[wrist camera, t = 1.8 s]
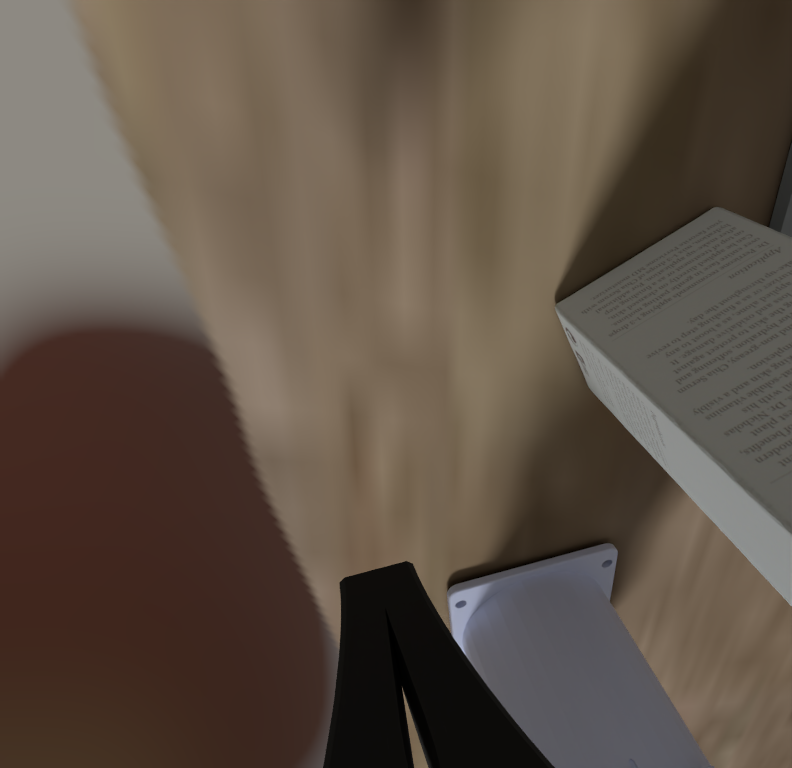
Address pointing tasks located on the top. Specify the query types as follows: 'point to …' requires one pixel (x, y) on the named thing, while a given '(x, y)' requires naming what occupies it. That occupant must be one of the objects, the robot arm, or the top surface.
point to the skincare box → (704, 372)
